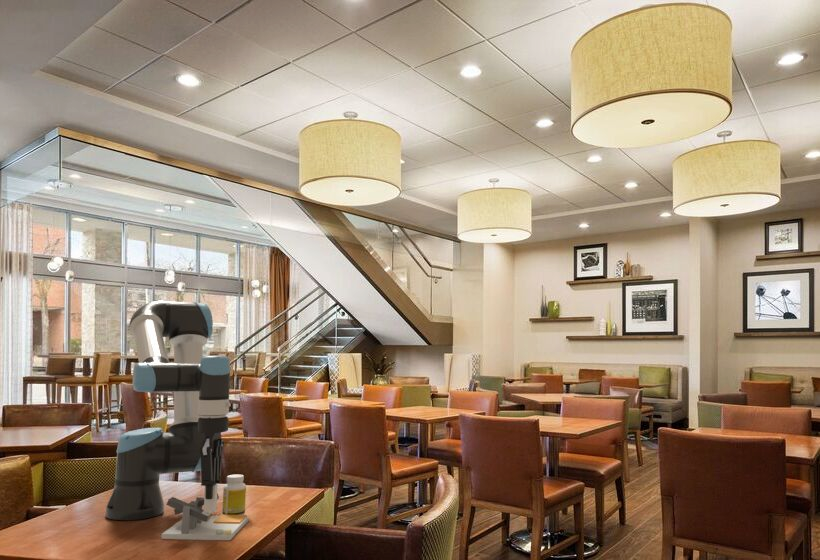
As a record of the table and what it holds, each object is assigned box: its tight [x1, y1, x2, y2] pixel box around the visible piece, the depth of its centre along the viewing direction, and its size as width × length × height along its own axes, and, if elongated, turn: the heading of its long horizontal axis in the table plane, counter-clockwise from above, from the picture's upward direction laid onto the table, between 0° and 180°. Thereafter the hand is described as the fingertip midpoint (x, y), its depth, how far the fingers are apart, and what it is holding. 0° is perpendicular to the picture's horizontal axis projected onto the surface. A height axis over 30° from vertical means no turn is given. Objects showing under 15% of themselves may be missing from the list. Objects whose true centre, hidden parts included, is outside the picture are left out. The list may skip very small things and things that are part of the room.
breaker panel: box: [161, 496, 250, 541], centre depth 160 cm, size 17×18×8 cm
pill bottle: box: [222, 473, 247, 515], centre depth 174 cm, size 6×6×11 cm
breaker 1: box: [166, 496, 213, 522], centre depth 155 cm, size 11×3×2 cm, turn 88°
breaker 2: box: [173, 492, 220, 516], centre depth 160 cm, size 11×3×2 cm, turn 91°
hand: (210, 511), depth 154 cm, fingers closed
